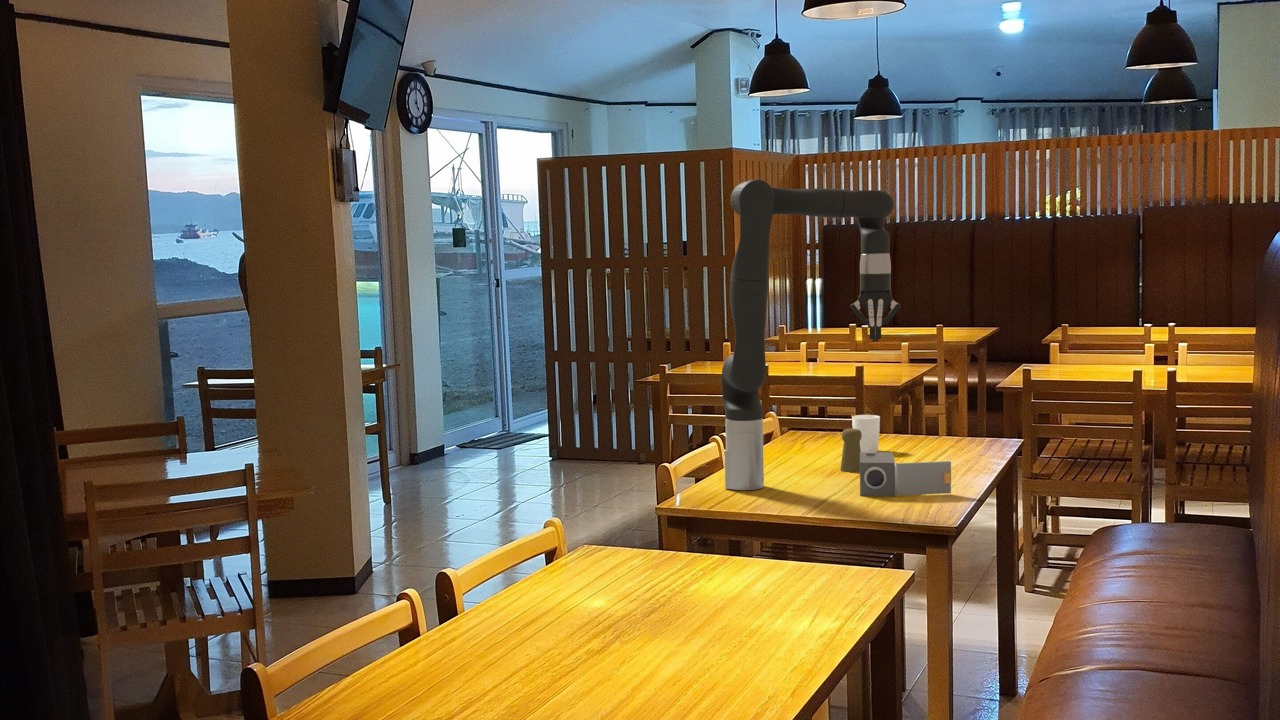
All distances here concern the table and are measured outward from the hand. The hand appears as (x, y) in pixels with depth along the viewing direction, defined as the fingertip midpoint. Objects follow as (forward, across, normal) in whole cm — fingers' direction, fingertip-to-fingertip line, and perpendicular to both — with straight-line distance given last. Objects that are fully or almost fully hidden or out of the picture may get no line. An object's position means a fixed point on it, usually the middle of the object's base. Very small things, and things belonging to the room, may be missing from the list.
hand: (875, 341), depth 296 cm
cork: (+35, -6, +12) cm, 38 cm away
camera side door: (+35, +11, -19) cm, 41 cm away
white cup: (+35, -2, +41) cm, 54 cm away
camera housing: (+35, 0, -13) cm, 37 cm away
